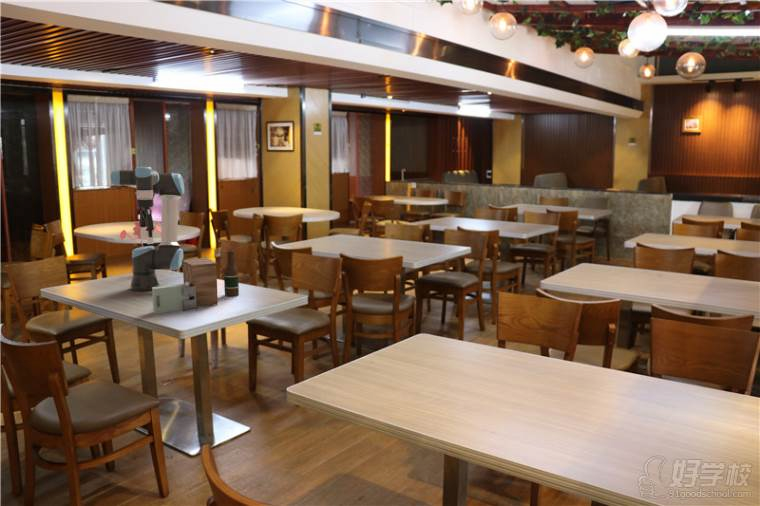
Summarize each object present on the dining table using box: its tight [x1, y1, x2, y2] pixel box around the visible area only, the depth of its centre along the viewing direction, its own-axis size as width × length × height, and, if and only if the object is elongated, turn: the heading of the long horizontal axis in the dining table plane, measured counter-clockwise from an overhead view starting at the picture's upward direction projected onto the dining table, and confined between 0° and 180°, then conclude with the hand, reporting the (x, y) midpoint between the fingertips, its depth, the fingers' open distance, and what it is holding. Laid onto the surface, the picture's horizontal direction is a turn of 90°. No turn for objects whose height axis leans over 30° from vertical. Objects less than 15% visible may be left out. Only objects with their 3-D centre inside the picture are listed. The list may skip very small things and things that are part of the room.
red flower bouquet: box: [119, 221, 163, 277], centre depth 389 cm, size 15×26×35 cm, turn 130°
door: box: [151, 282, 190, 314], centre depth 310 cm, size 5×17×13 cm, turn 122°
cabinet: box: [182, 257, 219, 308], centre depth 326 cm, size 18×13×21 cm
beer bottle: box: [223, 250, 240, 298], centre depth 342 cm, size 8×8×24 cm
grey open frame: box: [182, 283, 197, 312], centre depth 314 cm, size 8×6×12 cm
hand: (147, 242), depth 317 cm, fingers open, 13 cm apart
